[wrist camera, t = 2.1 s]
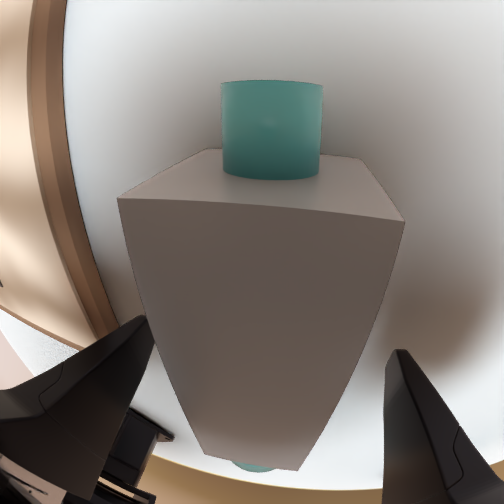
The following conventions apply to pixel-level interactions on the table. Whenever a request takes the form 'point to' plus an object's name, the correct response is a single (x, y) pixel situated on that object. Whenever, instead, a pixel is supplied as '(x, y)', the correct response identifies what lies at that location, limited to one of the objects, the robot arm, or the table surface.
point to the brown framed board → (42, 187)
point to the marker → (262, 274)
